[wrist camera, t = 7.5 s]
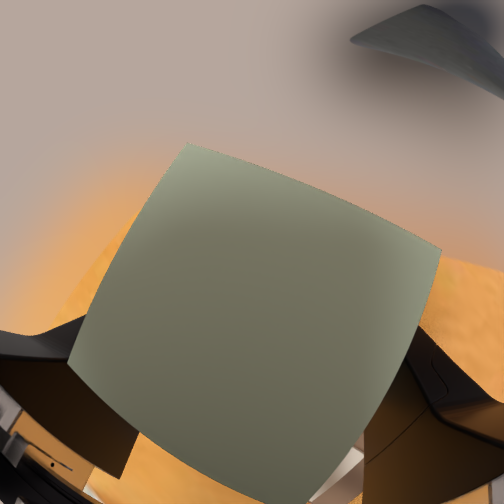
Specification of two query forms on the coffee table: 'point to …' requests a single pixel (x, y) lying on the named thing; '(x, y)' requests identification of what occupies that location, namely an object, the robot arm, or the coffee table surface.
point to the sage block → (253, 323)
